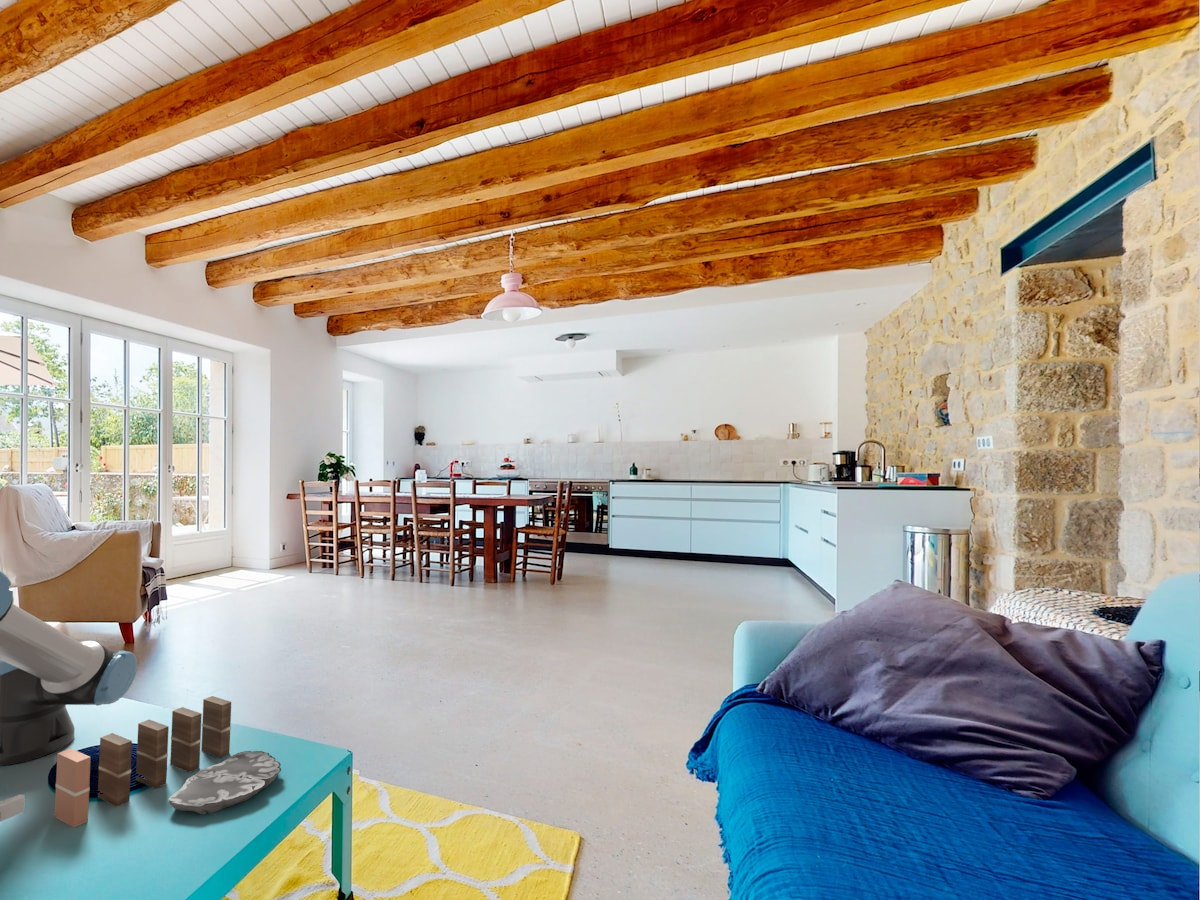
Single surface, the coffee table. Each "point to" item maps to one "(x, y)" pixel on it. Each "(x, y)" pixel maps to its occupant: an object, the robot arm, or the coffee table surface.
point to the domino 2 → (114, 769)
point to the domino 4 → (185, 739)
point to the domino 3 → (152, 753)
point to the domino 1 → (72, 787)
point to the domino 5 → (216, 726)
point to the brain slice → (226, 782)
